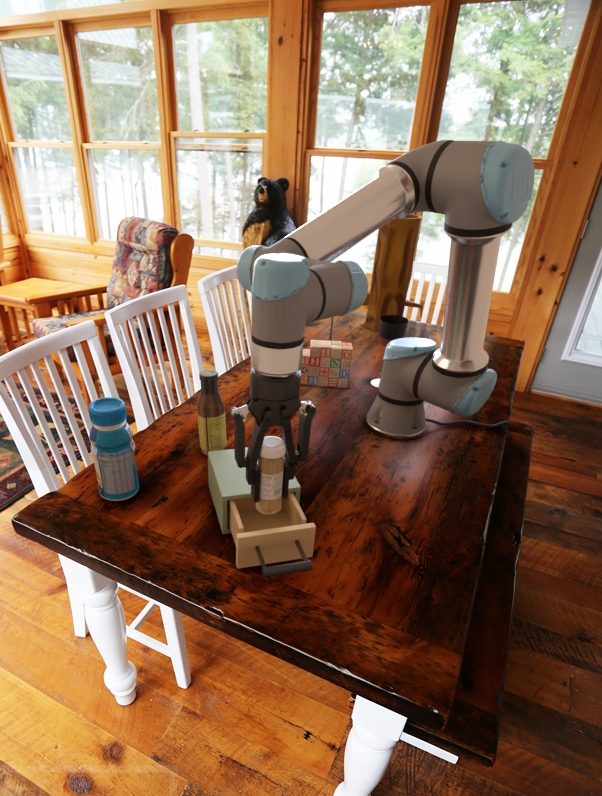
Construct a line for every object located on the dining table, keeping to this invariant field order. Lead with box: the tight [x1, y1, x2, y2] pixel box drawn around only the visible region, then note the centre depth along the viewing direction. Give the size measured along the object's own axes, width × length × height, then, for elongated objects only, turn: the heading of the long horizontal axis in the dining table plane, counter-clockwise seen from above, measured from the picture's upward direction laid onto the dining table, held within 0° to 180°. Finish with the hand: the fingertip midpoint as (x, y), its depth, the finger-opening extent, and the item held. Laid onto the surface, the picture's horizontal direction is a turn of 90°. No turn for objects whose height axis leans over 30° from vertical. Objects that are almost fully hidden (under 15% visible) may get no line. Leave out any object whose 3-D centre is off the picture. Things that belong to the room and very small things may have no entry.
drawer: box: [227, 492, 317, 579], centre depth 89 cm, size 21×14×7 cm, turn 15°
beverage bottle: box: [87, 396, 140, 502], centre depth 100 cm, size 8×8×20 cm
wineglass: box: [370, 315, 409, 389], centre depth 151 cm, size 8×9×20 cm
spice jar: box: [256, 435, 286, 515], centre depth 85 cm, size 5×5×14 cm
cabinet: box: [207, 446, 302, 535], centre depth 101 cm, size 16×15×9 cm
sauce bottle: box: [196, 369, 228, 457], centre depth 115 cm, size 7×6×20 cm
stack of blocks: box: [300, 339, 353, 389], centre depth 153 cm, size 21×6×12 cm, turn 84°
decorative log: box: [362, 213, 424, 332], centre depth 194 cm, size 14×40×30 cm
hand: (269, 495), depth 87 cm, fingers closed on spice jar, 4 cm apart
